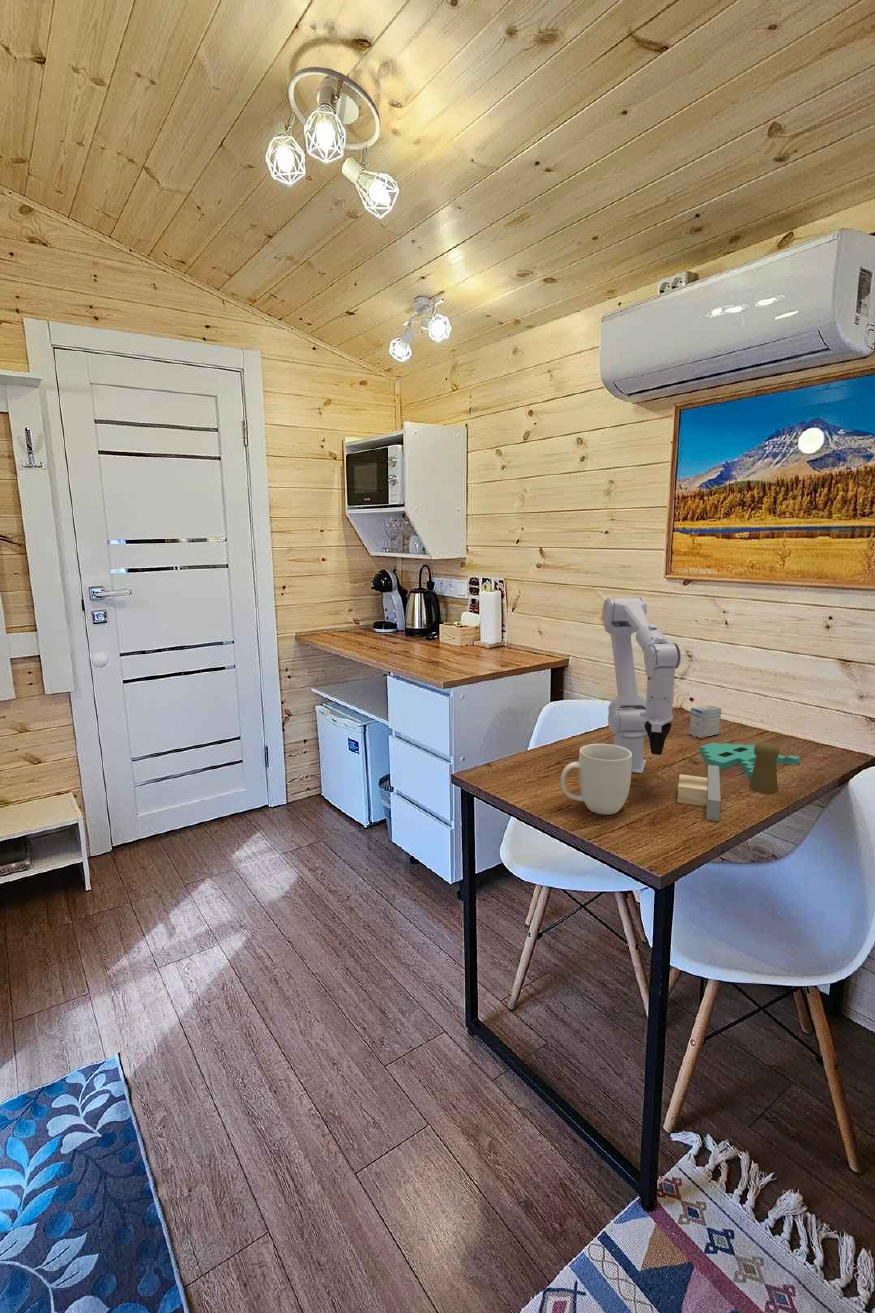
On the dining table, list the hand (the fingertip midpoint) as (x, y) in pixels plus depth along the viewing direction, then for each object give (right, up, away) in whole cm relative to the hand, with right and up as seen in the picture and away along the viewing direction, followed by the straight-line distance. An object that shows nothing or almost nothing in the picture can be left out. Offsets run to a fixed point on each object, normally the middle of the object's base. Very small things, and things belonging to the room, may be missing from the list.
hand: (656, 753), depth 142 cm
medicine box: (+30, -2, +44) cm, 53 cm away
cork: (+26, -9, +3) cm, 28 cm away
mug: (-15, -11, -7) cm, 20 cm away
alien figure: (+30, -6, +22) cm, 38 cm away
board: (+11, -10, -3) cm, 16 cm away
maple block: (+8, -10, -1) cm, 13 cm away
